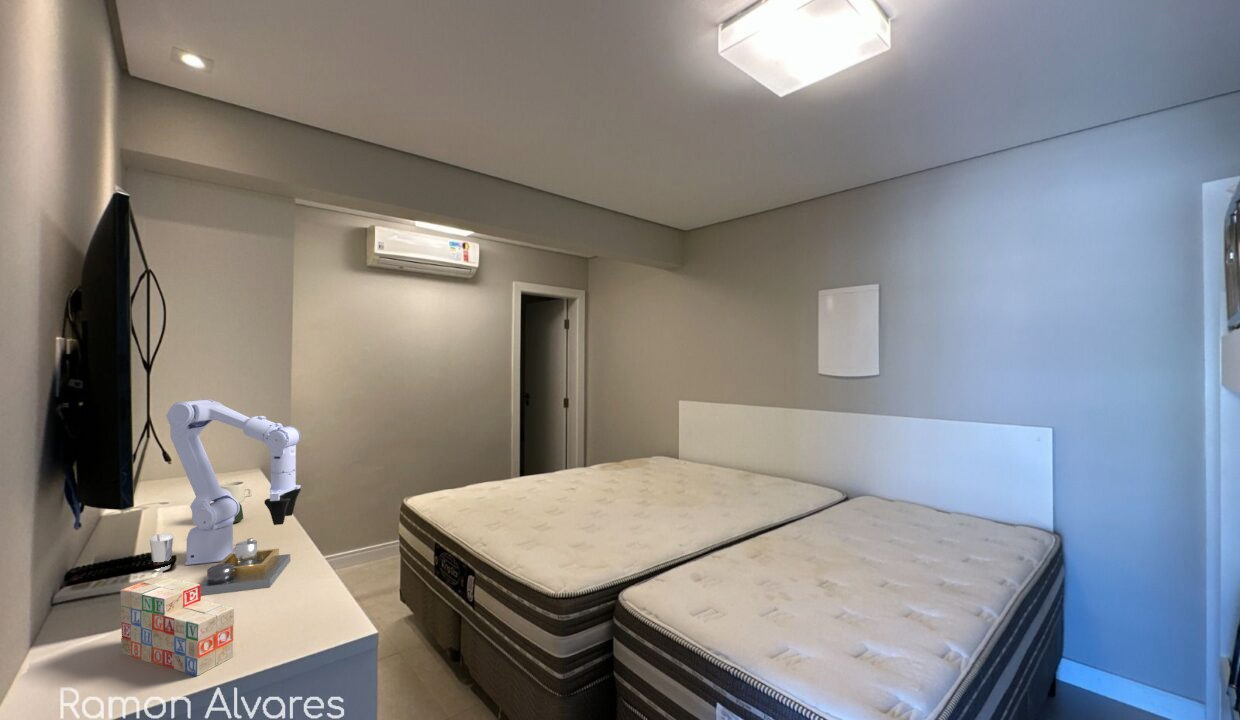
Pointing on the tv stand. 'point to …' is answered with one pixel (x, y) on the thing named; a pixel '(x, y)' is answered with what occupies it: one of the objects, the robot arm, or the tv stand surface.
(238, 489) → the character mug
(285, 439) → the robot arm
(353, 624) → the tv stand surface
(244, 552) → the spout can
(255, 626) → the tv stand surface
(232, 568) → the grey piece
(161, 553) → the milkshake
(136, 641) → the stack of blocks
